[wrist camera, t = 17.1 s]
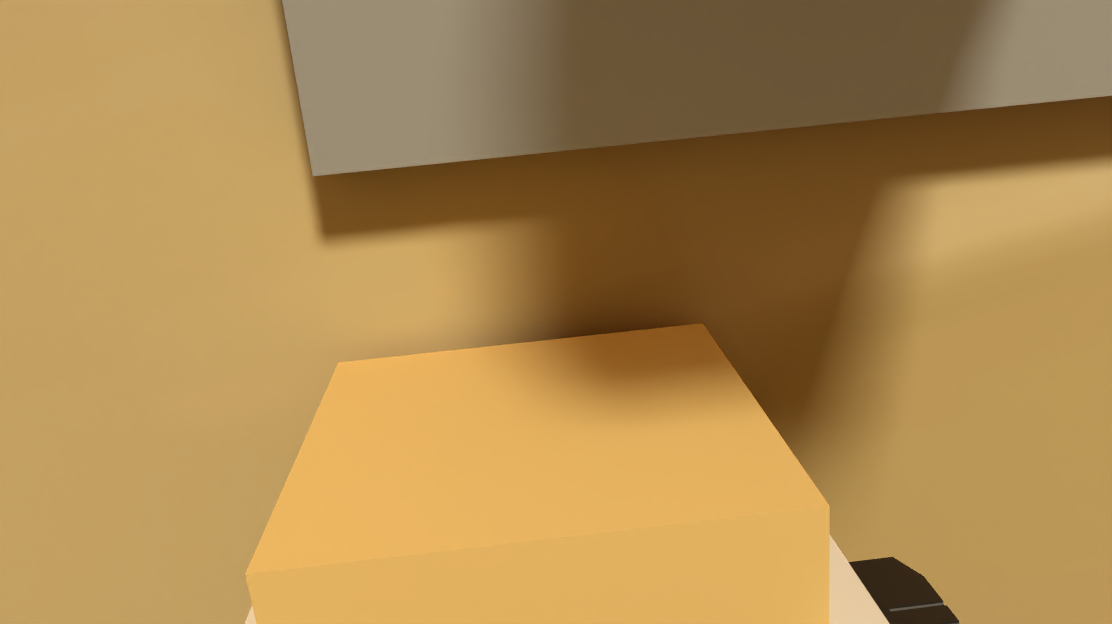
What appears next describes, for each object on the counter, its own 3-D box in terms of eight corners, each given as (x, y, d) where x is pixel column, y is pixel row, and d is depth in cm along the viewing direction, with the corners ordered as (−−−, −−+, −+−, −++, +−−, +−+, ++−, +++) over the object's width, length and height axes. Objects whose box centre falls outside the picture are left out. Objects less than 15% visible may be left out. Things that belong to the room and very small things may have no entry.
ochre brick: (391, 668, 17) (340, 1000, 11) (338, 363, 15) (245, 573, 9) (715, 629, 17) (829, 935, 11) (702, 323, 15) (829, 505, 10)
